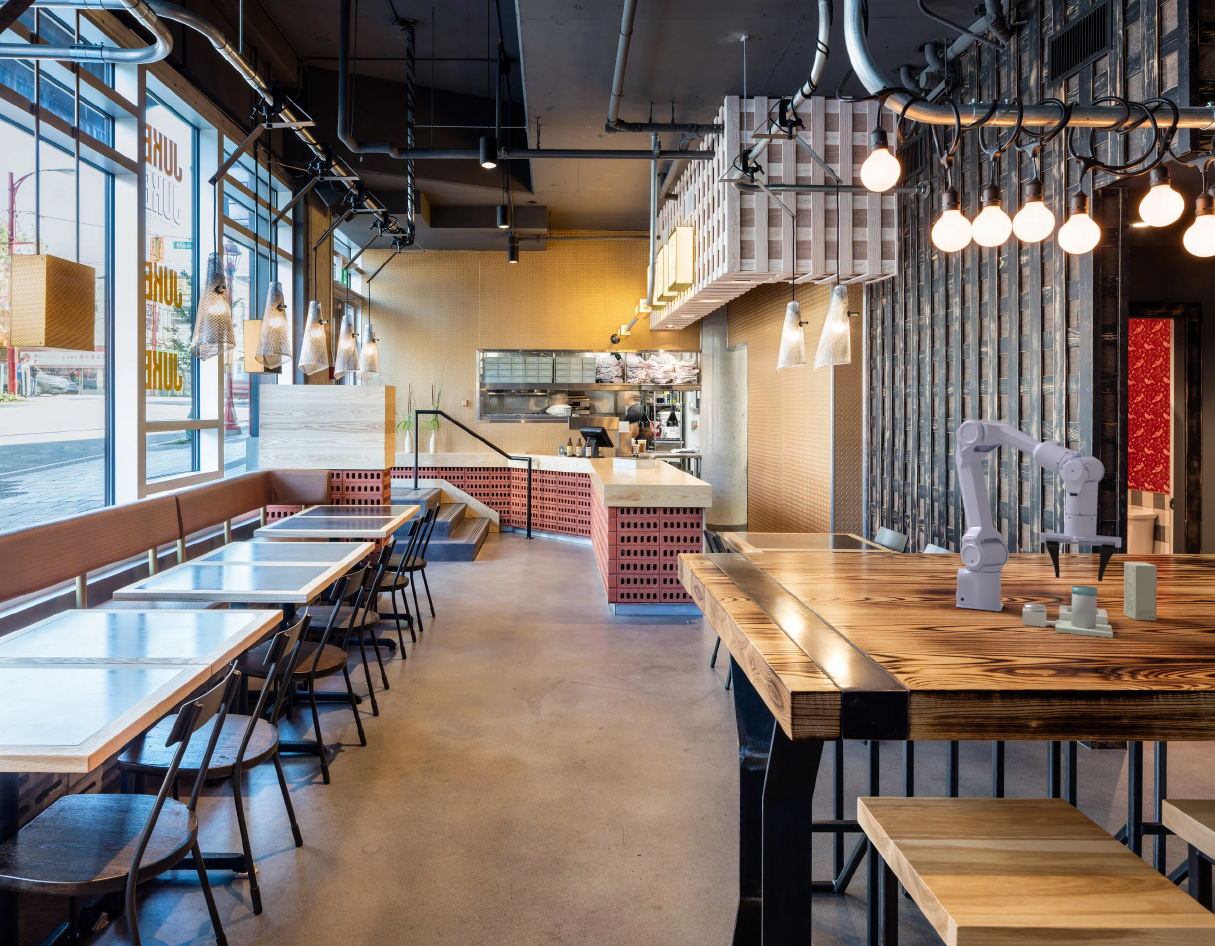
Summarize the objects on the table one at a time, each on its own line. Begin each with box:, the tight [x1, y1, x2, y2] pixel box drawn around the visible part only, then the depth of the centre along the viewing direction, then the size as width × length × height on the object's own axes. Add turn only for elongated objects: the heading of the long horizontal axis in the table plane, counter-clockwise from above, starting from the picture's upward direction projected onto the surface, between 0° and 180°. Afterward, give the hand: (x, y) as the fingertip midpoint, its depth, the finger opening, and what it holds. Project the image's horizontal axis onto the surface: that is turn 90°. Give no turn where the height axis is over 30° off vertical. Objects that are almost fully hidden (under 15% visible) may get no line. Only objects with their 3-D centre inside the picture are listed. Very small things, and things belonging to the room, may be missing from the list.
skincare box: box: [1123, 561, 1158, 622], centre depth 177 cm, size 6×4×12 cm
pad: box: [1054, 619, 1114, 639], centre depth 165 cm, size 10×8×1 cm
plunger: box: [1023, 602, 1046, 612], centre depth 171 cm, size 4×4×4 cm
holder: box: [1021, 604, 1109, 628], centre depth 172 cm, size 16×14×3 cm
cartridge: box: [1071, 585, 1098, 629], centre depth 165 cm, size 5×5×8 cm
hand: (1078, 578), depth 167 cm, fingers open, 7 cm apart
